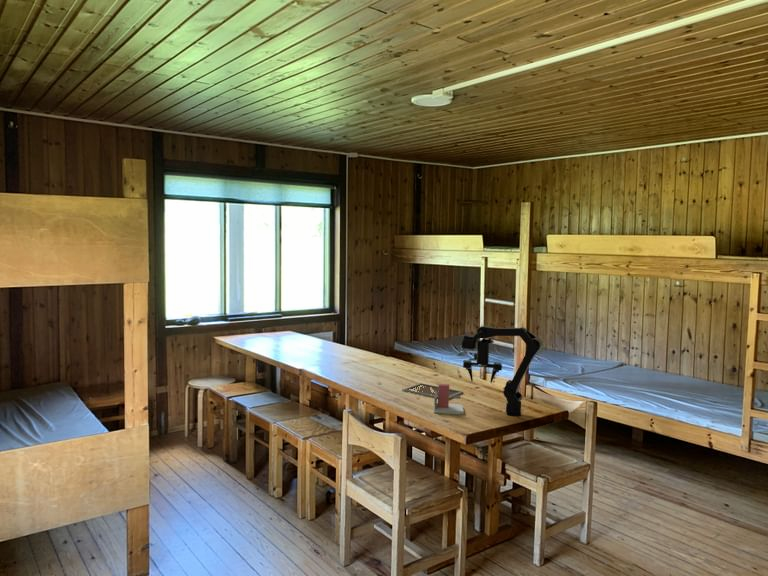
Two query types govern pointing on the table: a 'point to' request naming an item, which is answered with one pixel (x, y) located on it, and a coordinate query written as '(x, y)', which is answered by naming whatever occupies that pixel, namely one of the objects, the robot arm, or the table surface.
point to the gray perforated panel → (428, 392)
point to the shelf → (450, 410)
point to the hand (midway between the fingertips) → (481, 382)
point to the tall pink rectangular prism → (443, 395)
